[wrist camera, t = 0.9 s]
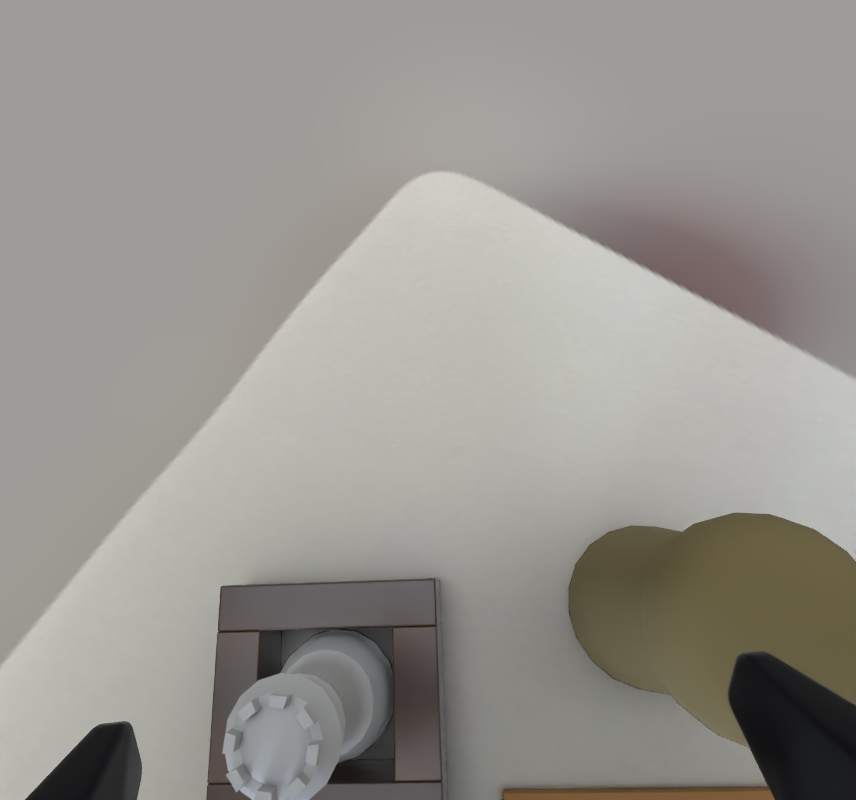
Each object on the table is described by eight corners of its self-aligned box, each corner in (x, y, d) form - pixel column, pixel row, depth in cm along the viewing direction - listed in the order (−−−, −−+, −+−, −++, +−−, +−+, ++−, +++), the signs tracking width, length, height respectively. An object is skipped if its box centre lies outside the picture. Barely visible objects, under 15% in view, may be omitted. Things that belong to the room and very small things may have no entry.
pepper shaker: (535, 598, 23) (585, 619, 12) (642, 494, 24) (774, 430, 13) (653, 728, 21) (824, 880, 11) (763, 612, 22) (1023, 647, 12)
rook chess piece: (313, 778, 22) (224, 889, 14) (266, 663, 23) (161, 707, 15) (418, 717, 22) (387, 793, 14) (366, 606, 23) (311, 622, 16)
